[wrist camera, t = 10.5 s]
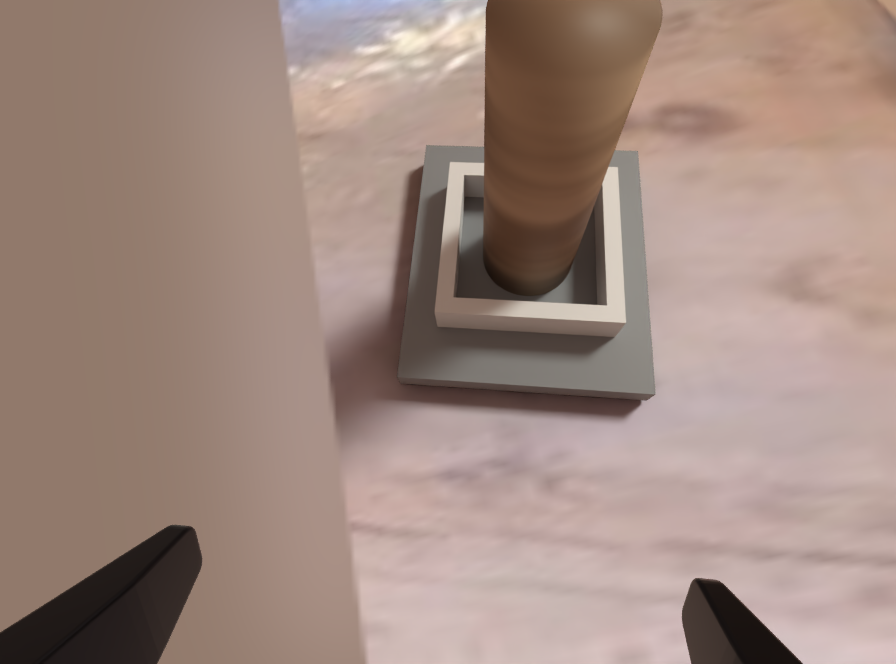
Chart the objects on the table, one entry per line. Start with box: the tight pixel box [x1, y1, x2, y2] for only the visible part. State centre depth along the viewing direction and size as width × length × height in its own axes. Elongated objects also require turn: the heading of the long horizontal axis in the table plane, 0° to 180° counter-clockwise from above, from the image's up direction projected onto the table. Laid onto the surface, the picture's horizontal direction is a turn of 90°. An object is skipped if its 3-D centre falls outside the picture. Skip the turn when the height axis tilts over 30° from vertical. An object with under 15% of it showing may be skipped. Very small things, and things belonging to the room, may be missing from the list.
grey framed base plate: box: [397, 145, 655, 400], centre depth 25 cm, size 14×12×3 cm
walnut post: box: [483, 0, 662, 296], centre depth 19 cm, size 5×5×13 cm
